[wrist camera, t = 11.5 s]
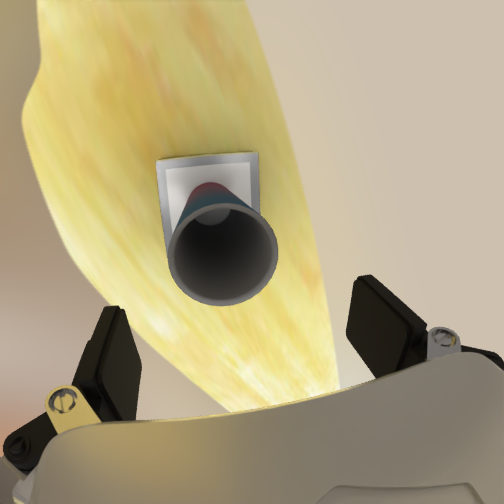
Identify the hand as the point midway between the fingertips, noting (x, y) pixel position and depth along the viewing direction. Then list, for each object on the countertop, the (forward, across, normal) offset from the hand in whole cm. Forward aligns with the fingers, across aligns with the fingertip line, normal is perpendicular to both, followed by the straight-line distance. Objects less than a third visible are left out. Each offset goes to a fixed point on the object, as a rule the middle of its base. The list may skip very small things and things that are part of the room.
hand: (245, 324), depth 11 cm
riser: (+26, 0, 0) cm, 26 cm away
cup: (+22, 0, 0) cm, 22 cm away
